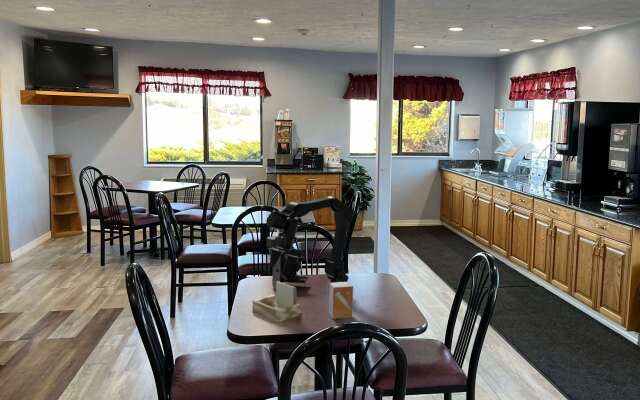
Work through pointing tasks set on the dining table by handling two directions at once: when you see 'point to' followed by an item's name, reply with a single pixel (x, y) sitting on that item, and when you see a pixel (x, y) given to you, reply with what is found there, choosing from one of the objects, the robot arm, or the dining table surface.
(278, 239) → the robot arm
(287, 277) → the vintage camera
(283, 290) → the door
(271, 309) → the wooden tray
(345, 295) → the small box
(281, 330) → the dining table surface
